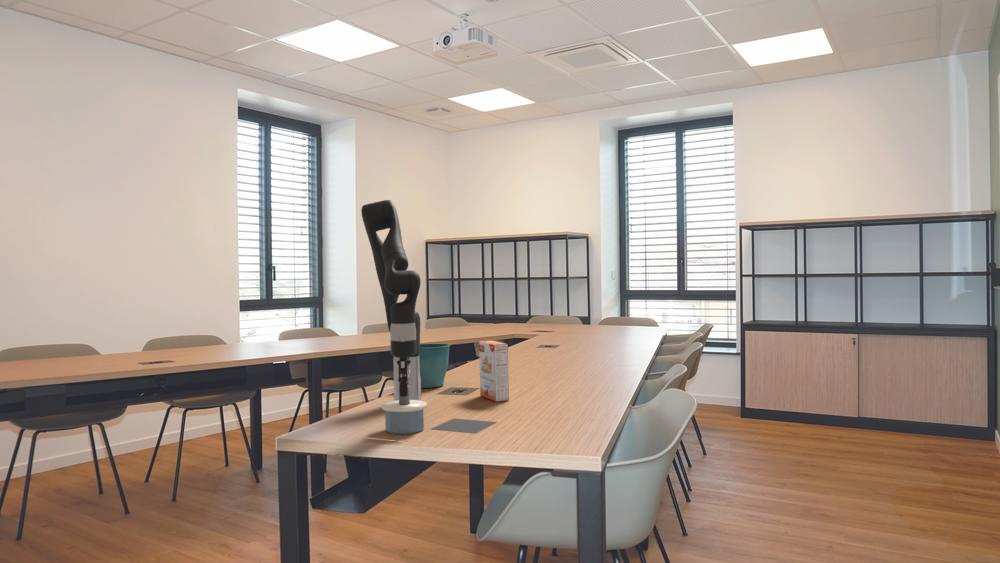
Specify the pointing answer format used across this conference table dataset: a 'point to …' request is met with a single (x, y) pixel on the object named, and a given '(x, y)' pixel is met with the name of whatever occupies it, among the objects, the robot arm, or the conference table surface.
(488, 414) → the conference table surface
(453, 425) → the mat
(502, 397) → the cracker box
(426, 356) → the flower pot
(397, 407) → the lid
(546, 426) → the conference table surface
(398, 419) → the bowl
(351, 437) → the conference table surface
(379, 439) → the conference table surface
